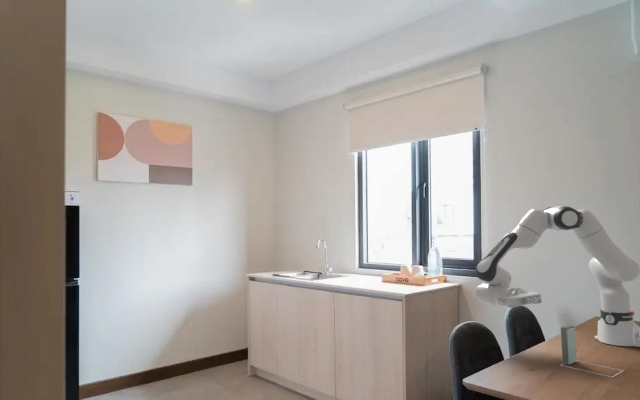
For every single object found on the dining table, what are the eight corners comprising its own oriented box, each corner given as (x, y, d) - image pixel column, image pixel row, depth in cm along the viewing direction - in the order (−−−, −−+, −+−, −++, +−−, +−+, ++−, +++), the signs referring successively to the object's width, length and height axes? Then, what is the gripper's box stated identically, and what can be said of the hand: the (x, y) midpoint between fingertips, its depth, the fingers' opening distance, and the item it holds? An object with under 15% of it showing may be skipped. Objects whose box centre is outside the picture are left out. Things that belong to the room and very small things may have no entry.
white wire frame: (571, 359, 175) (623, 370, 161) (571, 360, 175) (623, 372, 161) (559, 364, 169) (612, 377, 155) (559, 366, 169) (612, 378, 155)
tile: (570, 360, 174) (568, 325, 175) (577, 362, 172) (575, 326, 173) (562, 363, 171) (560, 327, 172) (569, 365, 169) (567, 328, 170)
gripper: (494, 292, 190) (524, 296, 179) (522, 288, 201) (551, 291, 190) (495, 307, 190) (525, 312, 178) (522, 301, 201) (552, 306, 189)
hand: (539, 301), depth 184 cm, fingers closed
